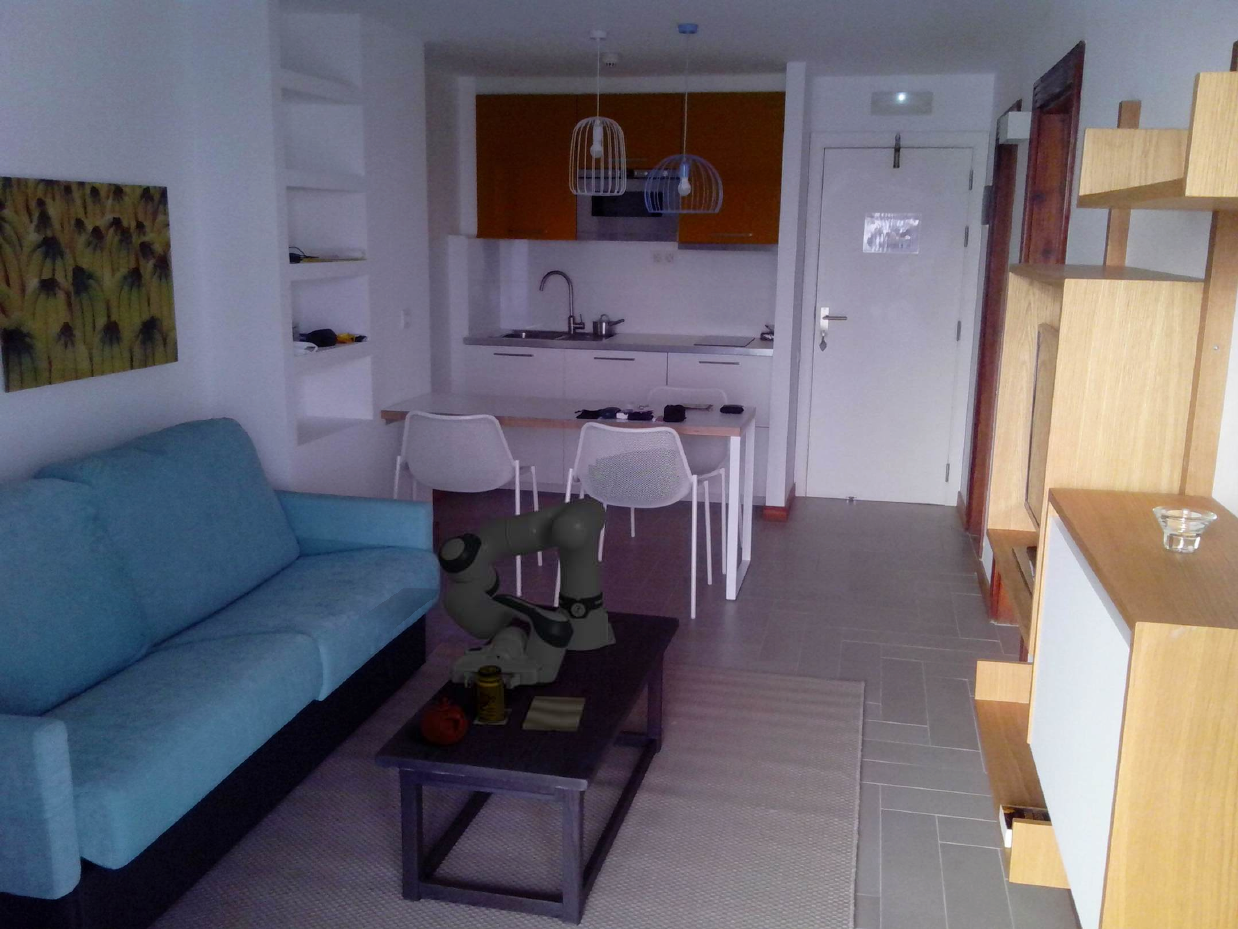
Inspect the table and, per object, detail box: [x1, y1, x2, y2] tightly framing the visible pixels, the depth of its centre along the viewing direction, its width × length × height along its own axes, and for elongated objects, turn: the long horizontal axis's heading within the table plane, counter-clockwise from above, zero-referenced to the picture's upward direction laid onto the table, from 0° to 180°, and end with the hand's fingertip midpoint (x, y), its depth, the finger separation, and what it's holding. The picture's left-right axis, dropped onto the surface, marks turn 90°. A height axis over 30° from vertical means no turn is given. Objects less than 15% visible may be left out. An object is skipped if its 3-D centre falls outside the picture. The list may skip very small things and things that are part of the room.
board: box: [522, 695, 586, 732], centre depth 239 cm, size 16×12×1 cm
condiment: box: [473, 665, 513, 726], centre depth 237 cm, size 7×8×12 cm
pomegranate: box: [420, 697, 468, 746], centre depth 227 cm, size 10×10×9 cm
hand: (488, 685), depth 236 cm, fingers open, 8 cm apart
